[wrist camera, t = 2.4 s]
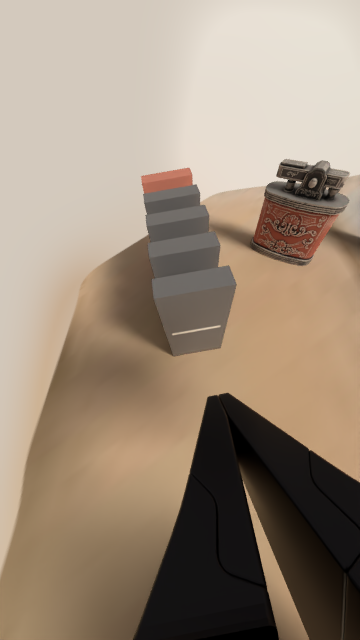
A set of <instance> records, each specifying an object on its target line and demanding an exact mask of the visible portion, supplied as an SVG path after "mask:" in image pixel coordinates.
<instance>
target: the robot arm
mask: <svg viewBox="0 0 360 640" xmlns="http://www.w3.org/2000/svg"><path fill="white" fill-rule="evenodd" d="M242 479H243V480H242ZM243 481H244V484H245V486H246V489H247V491H248V493H249V496H250V498H251V501H252V503H253V505H254V508H255V510H256V512H257V515H258V517H259V520H260V522H261V524H262V527H263V529H264V532H265V534H266V536H267V539H268V541H269V544H270V546H271V548H272V551H273V553H274V556H275V558H276V560H277V563H278V565H279V568H280V570H281V572H282V575H283V577H284V580H285V582H286V584H287V587H288V589H289V591H290V594H291V596H292V599H293V601H294V603H295V606H296V608H297V611H298V613H299V615H300V618H301V620H302V623H303V625H304V627H305V630H306V632H307V635H308V637H309V639H310V640H360V482H358V481H357V480H355V479H353V478H352V477H350V476H349V475H347V474H346V473H344V472H342V471H341V470H339V469H338V468H336V467H335V466H333V465H332V464H330V463H329V462H327V461H326V460H324V459H323V458H322V457H320V456H319V455H317V454H316V453H314V452H313V451H311V450H310V451H309V449H308V448H307V447H306V446H304V445H303V444H301V443H300V442H298V441H297V440H295V439H294V438H293V437H291V436H290V435H288V434H287V433H285V432H284V431H283V430H281V429H280V428H278V427H277V426H275V425H274V424H272V423H271V422H270V421H268V420H267V419H265V418H264V417H262V416H261V415H259V414H258V413H257V412H255V411H254V410H252V409H251V408H249V407H248V406H247V405H245V404H244V403H242V402H241V401H239V400H238V399H236V398H235V397H234V396H232V395H231V394H229V393H224V394H220V395H219V396H217V395H214V396H209V397H208V398H207V402H206V406H205V410H204V414H203V418H202V423H201V427H200V431H199V435H198V439H197V444H196V448H195V452H194V456H193V460H192V464H191V469H190V474H189V476H188V481H187V485H186V489H185V492H184V496H183V500H182V503H181V507H180V510H179V513H178V516H177V519H176V522H175V526H174V529H173V532H172V535H171V537H170V540H169V543H168V546H167V548H166V551H165V554H164V557H163V559H162V562H161V565H160V568H159V571H158V573H157V576H156V579H155V582H154V584H153V587H152V590H151V593H150V596H149V598H148V601H147V604H146V607H145V609H144V612H143V615H142V617H141V620H140V623H139V625H138V628H137V631H136V633H135V635H134V638H133V640H279V638H278V631H277V627H276V623H275V619H274V615H273V611H272V607H271V602H270V598H269V594H268V591H267V585H266V581H265V576H264V572H263V567H262V563H261V559H260V554H259V550H258V546H257V541H256V537H255V533H254V528H253V524H252V520H251V515H250V511H249V506H248V502H247V498H246V493H245V489H244V485H243Z"/></svg>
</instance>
